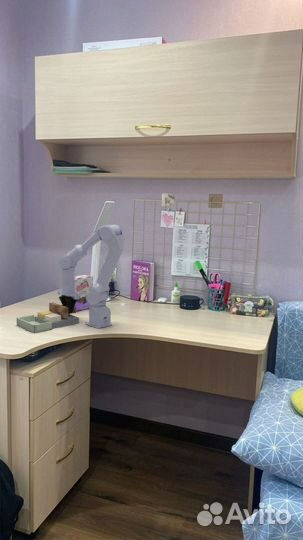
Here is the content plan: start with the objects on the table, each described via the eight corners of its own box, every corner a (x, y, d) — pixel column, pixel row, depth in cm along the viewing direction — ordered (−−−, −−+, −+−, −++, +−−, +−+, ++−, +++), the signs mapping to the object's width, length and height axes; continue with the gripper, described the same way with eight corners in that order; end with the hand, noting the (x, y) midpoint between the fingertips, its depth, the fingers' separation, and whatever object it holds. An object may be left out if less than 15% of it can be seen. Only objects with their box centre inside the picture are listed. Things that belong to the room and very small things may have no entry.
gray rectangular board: (79, 323, 187) (79, 316, 187) (34, 333, 172) (34, 325, 171) (61, 316, 198) (61, 309, 197) (16, 325, 183) (16, 317, 182)
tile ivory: (61, 320, 182) (61, 315, 182) (50, 322, 179) (50, 317, 179) (54, 317, 186) (54, 313, 186) (44, 319, 182) (44, 315, 182)
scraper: (82, 314, 189) (81, 305, 188) (64, 318, 183) (64, 308, 182) (66, 309, 198) (66, 300, 197) (49, 312, 191) (49, 303, 191)
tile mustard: (53, 317, 187) (53, 312, 186) (43, 319, 183) (43, 314, 183) (47, 315, 190) (47, 310, 190) (37, 316, 187) (37, 312, 186)
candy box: (72, 313, 204) (72, 279, 202) (64, 311, 208) (64, 277, 205) (93, 307, 215) (93, 275, 213) (85, 306, 219) (85, 274, 216)
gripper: (51, 281, 191) (51, 310, 193) (69, 286, 181) (69, 317, 183) (65, 279, 196) (65, 308, 198) (83, 284, 186) (83, 314, 188)
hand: (68, 312), depth 191 cm, fingers closed on scraper, 3 cm apart
